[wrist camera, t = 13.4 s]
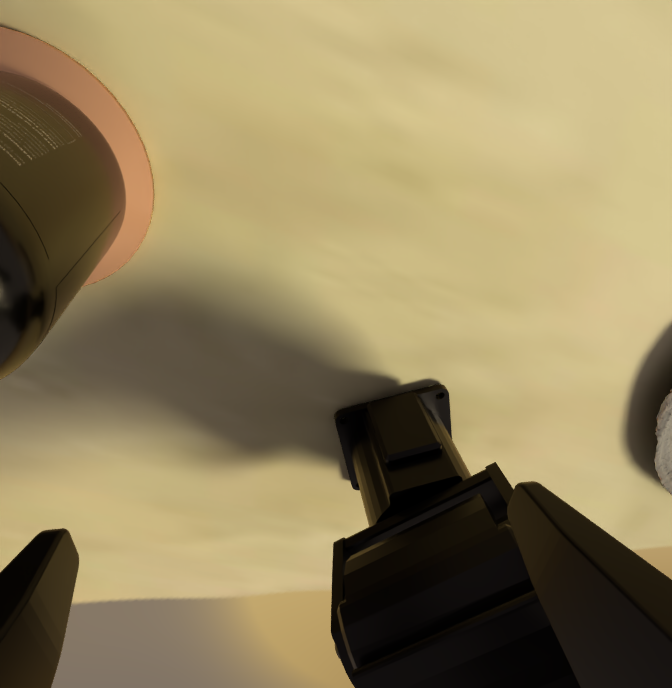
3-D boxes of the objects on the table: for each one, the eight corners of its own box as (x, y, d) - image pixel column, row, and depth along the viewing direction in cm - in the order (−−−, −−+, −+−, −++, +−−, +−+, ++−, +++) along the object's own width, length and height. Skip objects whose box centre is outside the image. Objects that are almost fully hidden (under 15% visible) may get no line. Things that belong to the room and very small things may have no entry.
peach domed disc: (189, 257, 19) (187, 260, 19) (-22, 308, 19) (-27, 313, 18) (83, -6, 14) (79, -8, 14) (-205, 58, 14) (-216, 58, 13)
